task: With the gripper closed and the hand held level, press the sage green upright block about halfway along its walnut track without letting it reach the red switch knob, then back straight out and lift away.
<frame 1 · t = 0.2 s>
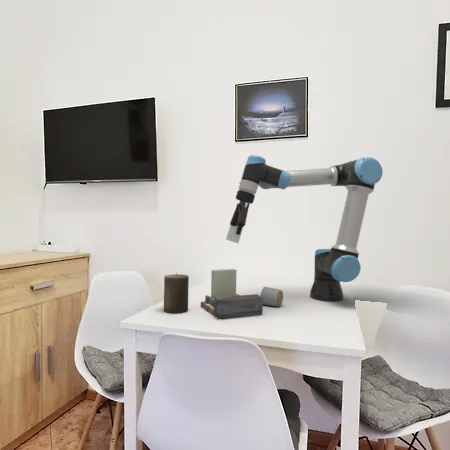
hand: (231, 241, 149), 27 cm above the table, tool tilted 15°, fingers open, 13 cm apart
grey cylinder: (272, 305, 155), on the table
pillar candle: (175, 310, 143), on the table
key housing: (229, 309, 145), on the table
sage green upright block: (223, 285, 150), point 9 cm above the table, slide at 0.0 cm
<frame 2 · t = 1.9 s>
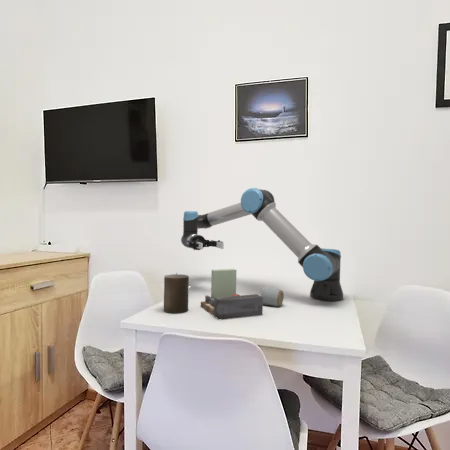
hand: (212, 246, 162), 24 cm above the table, tool horizontal, fingers open, 9 cm apart
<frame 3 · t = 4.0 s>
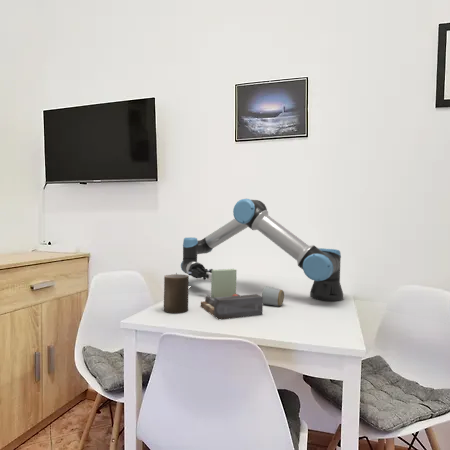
hand: (212, 277, 162), 10 cm above the table, tool horizontal, fingers closed
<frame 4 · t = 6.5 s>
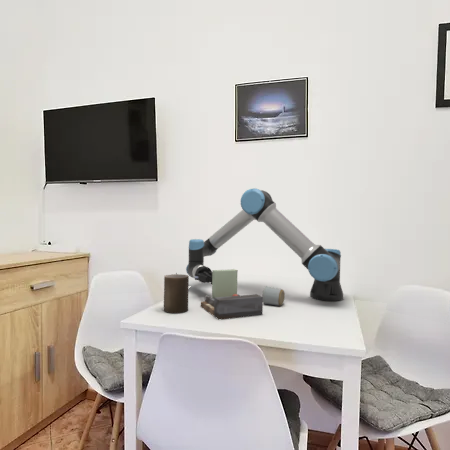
hand: (221, 282, 151), 10 cm above the table, tool horizontal, fingers closed
sage green upright block: (224, 285, 149), point 9 cm above the table, slide at 1.0 cm, touching gripper
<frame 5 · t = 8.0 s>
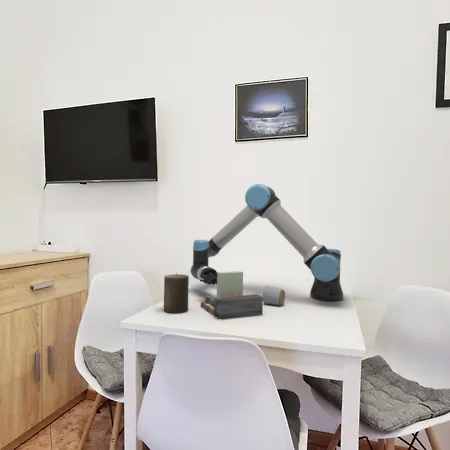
hand: (228, 284, 146), 10 cm above the table, tool horizontal, fingers closed
sage green upright block: (230, 288, 145), point 9 cm above the table, slide at 6.3 cm, touching gripper
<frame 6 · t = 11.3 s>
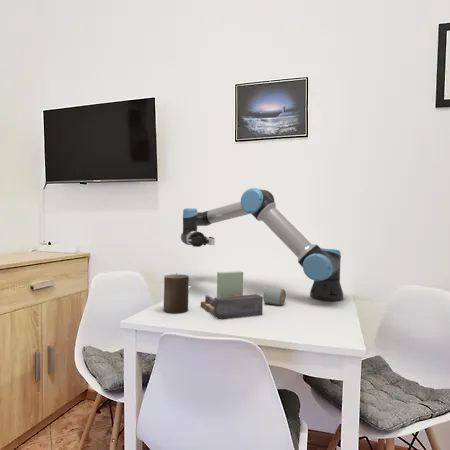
hand: (213, 242, 161), 26 cm above the table, tool horizontal, fingers closed
sage green upright block: (230, 288, 145), point 9 cm above the table, slide at 6.3 cm
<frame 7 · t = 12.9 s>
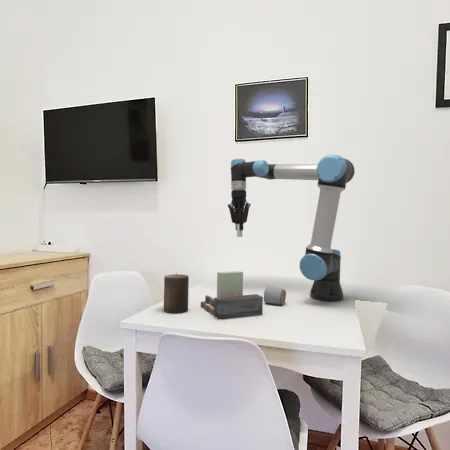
hand: (239, 236, 182), 27 cm above the table, tool pointing down, fingers closed
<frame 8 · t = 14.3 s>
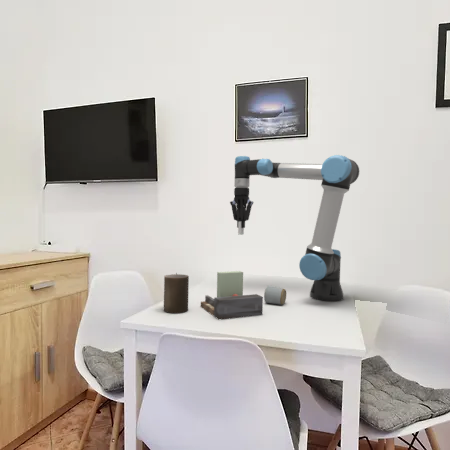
hand: (240, 234, 182), 28 cm above the table, tool pointing down, fingers closed
at the end: sage green upright block slide at 6.3 cm; pillar candle moved 0.2 cm from its start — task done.
